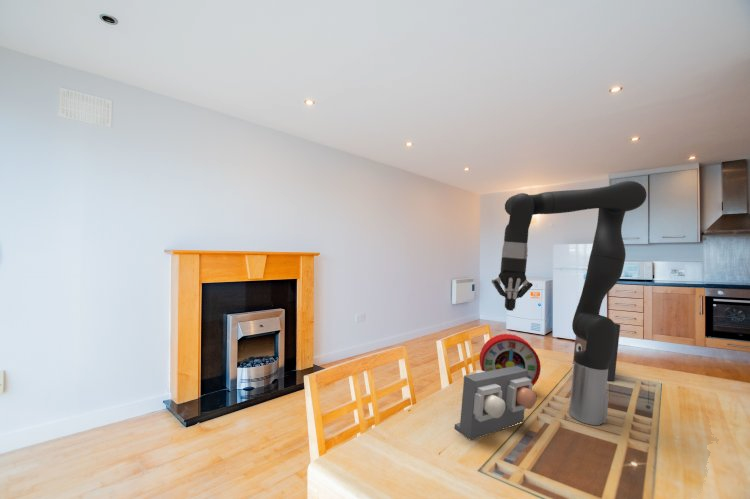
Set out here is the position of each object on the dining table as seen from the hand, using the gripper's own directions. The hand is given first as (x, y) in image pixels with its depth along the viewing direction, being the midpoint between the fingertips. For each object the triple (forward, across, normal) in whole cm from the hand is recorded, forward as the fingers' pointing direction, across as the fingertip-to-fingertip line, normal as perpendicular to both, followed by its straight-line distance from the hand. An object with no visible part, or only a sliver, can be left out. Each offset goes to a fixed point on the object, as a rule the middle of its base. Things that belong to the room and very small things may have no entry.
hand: (509, 309), depth 111 cm
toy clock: (+32, -7, -13) cm, 35 cm away
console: (+32, +7, +13) cm, 35 cm away
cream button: (+25, +10, +20) cm, 33 cm away
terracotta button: (+24, -1, +14) cm, 28 cm away
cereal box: (+32, -54, -38) cm, 73 cm away
